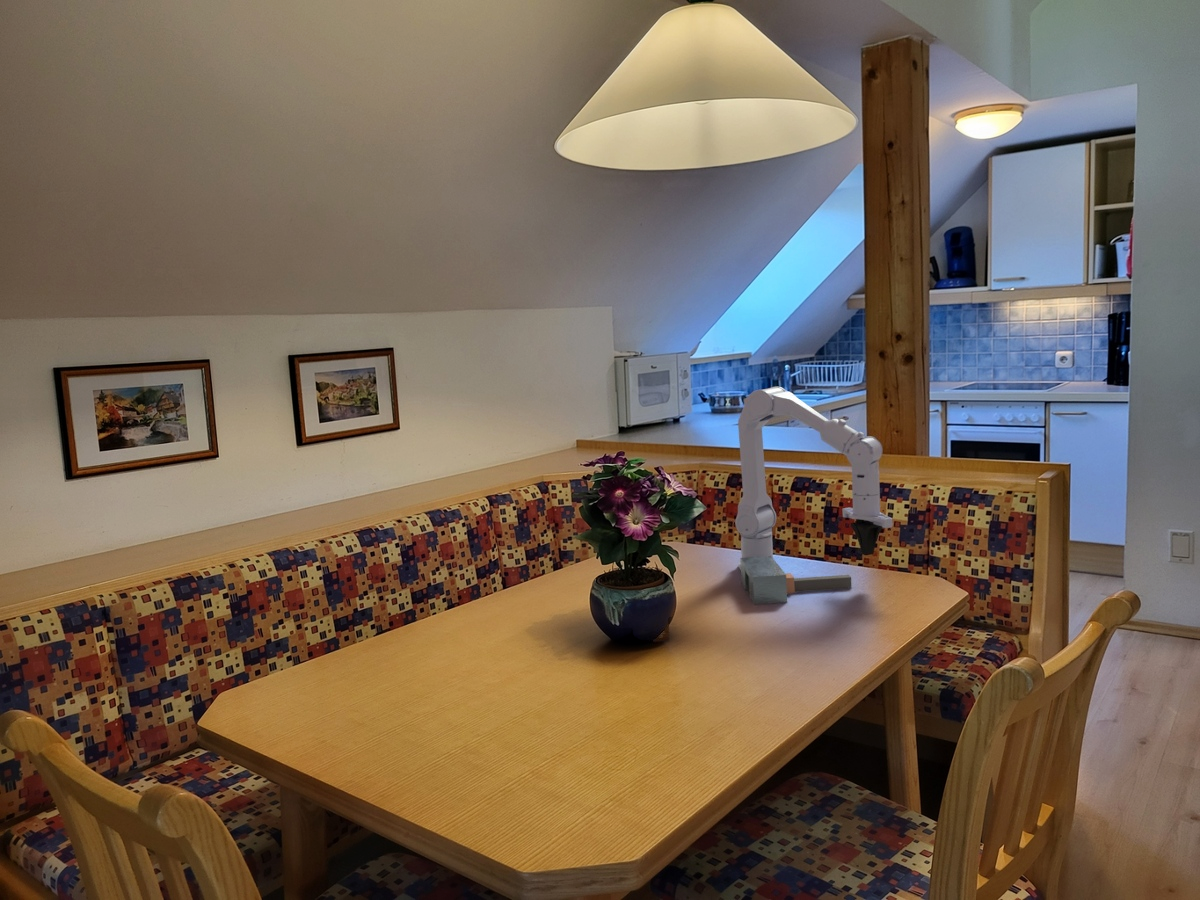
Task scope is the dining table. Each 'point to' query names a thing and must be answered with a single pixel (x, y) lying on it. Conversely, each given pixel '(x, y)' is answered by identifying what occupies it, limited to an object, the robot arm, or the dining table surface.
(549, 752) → the dining table surface
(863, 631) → the dining table surface
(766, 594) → the block
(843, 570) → the dining table surface
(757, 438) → the robot arm
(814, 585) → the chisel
